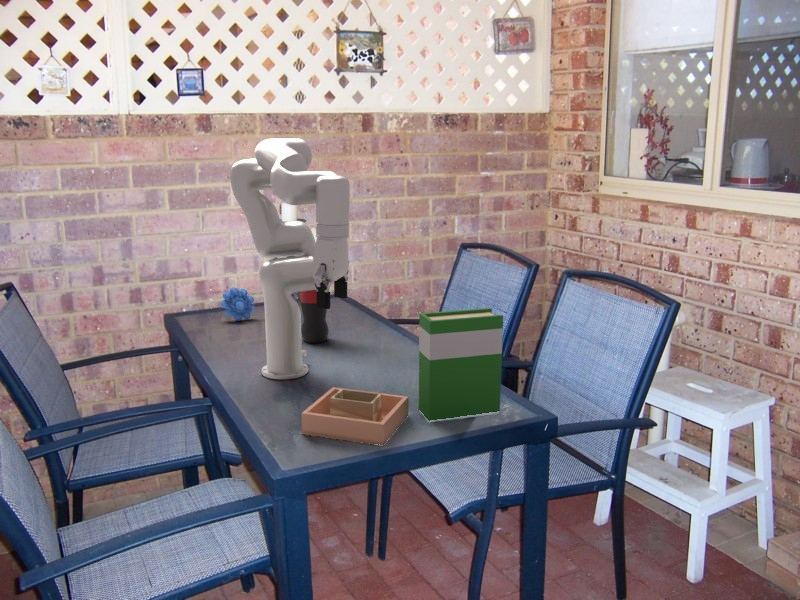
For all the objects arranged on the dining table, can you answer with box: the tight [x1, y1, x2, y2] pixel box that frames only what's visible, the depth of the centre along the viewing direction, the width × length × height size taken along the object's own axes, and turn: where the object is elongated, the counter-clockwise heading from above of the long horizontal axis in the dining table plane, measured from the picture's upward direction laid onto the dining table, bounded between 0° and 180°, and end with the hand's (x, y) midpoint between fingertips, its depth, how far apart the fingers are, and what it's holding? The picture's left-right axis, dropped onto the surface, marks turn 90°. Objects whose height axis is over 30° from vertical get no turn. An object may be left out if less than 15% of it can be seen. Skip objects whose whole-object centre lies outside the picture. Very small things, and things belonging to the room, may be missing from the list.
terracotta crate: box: [300, 386, 409, 446], centre depth 166 cm, size 17×19×5 cm
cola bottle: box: [300, 283, 329, 344], centre depth 227 cm, size 8×8×30 cm
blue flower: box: [220, 286, 256, 322], centre depth 250 cm, size 12×7×12 cm, turn 114°
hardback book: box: [418, 307, 504, 421], centre depth 171 cm, size 18×7×24 cm, turn 107°
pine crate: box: [330, 388, 382, 422], centre depth 166 cm, size 6×10×6 cm, turn 72°
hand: (332, 302), depth 172 cm, fingers open, 9 cm apart
